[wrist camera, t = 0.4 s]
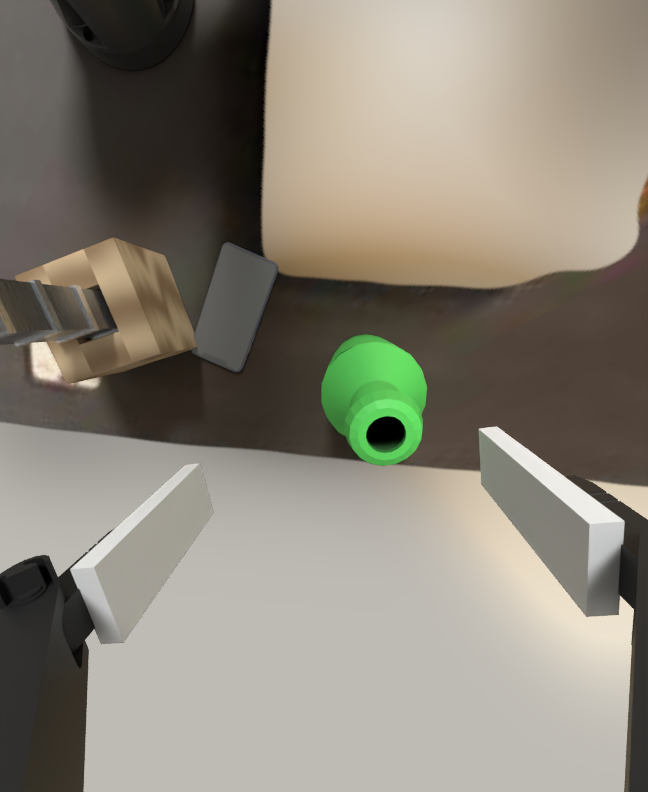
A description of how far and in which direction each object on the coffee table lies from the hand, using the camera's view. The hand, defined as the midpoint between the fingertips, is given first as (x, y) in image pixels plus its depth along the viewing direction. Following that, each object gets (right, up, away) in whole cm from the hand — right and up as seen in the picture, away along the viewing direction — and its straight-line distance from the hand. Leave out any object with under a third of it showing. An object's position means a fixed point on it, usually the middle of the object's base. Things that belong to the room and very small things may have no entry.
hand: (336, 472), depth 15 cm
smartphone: (-12, +15, +27) cm, 33 cm away
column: (-25, +14, +27) cm, 40 cm away
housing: (-25, +14, +27) cm, 40 cm away
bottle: (+5, +7, +27) cm, 28 cm away
